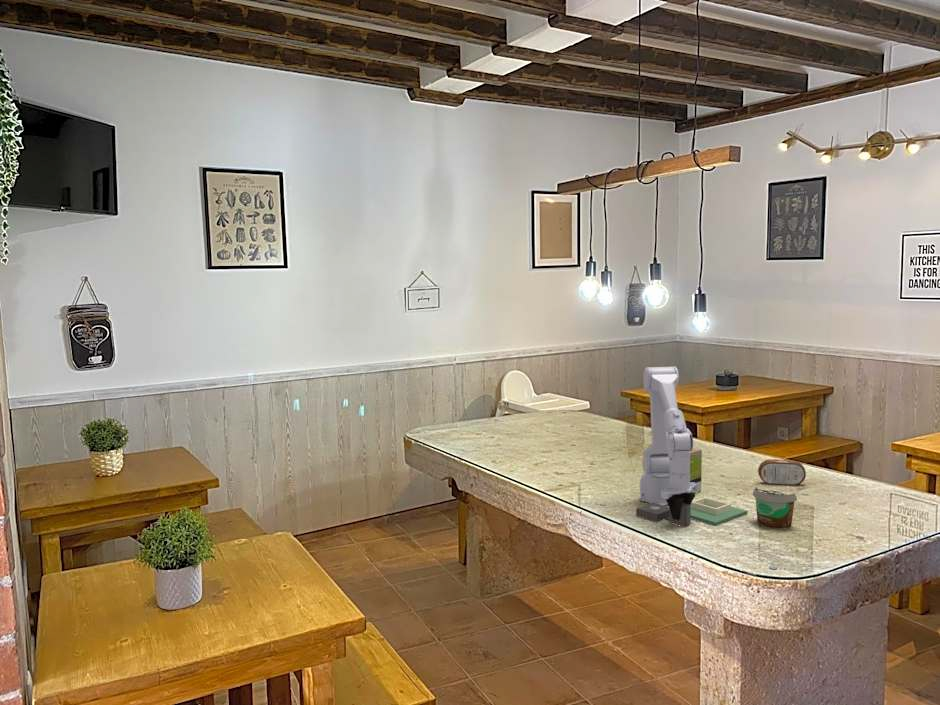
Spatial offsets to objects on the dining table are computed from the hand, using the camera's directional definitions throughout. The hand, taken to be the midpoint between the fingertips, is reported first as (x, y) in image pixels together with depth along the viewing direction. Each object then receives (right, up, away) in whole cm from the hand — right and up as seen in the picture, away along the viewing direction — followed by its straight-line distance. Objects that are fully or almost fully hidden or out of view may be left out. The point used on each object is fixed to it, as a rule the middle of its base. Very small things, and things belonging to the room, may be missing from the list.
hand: (679, 517), depth 216 cm
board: (+11, -1, +8) cm, 14 cm away
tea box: (+8, +2, +33) cm, 34 cm away
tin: (+45, +3, +36) cm, 58 cm away
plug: (0, -2, 0) cm, 2 cm away
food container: (+25, -2, -3) cm, 26 cm away
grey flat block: (-5, -1, +6) cm, 8 cm away
